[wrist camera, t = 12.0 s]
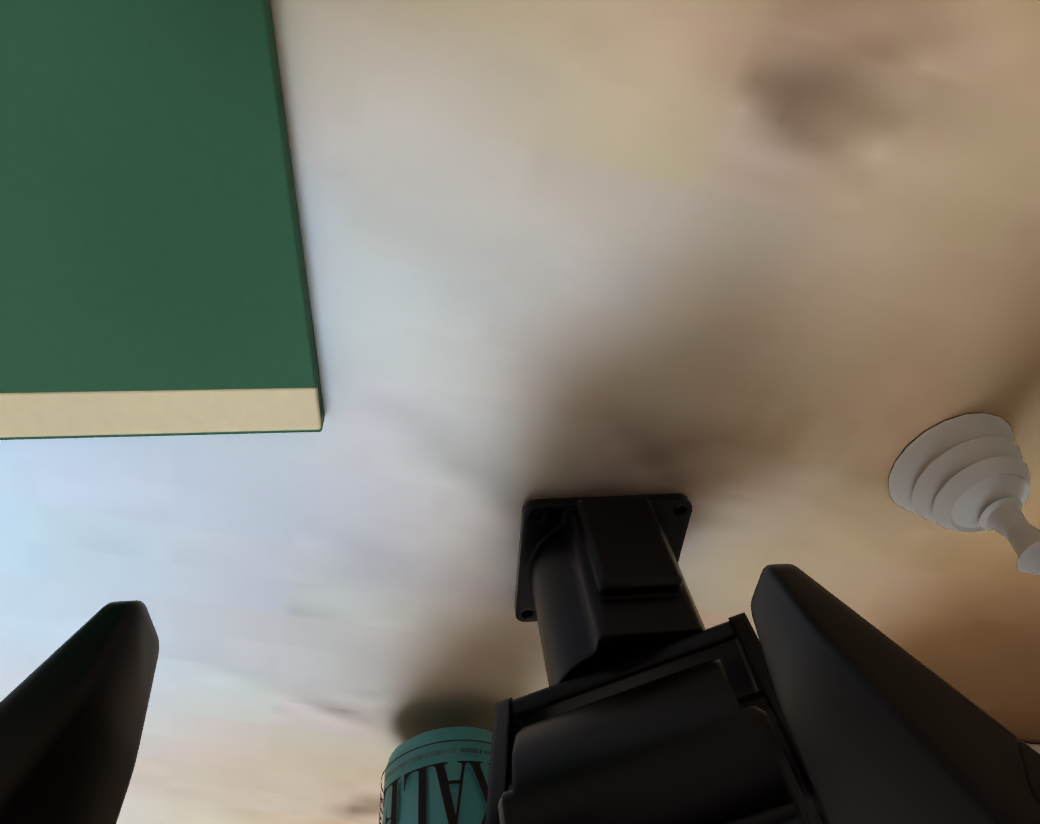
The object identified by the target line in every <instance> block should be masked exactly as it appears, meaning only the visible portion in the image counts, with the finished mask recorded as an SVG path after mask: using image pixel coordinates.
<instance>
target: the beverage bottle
mask: <svg viewBox="0 0 1040 824" xmlns="http://www.w3.org/2000/svg"><path fill="white" fill-rule="evenodd" d="M491 743H492V731H489V730H485V729H481V728H476V727H446V728H439V729H434V730H430V731H427V732H424V733H421V734H418V735H416V736H414V737H412V738H410V739H408V740H406V741H405V742H403V743H402V744H401V745H399V746H398V747H397V748H396V749H395V750H394V752H393V753H392V755H391V756H390V759H389V762H388V765H387V767H386V769H385V771H384V772H385V783H384V792H383V793H384V802H383V799H381V798H382V796H381V795H380V796H381V798H380V799H381V800H380V804H381V802H382V804H383V812H382V810H381V808H380V810H381V812H382V814H383V821H382V819H381V816H380V813H379V816H380V817H379V823H380V824H381V822H380V819H381V821H382V824H485V820H486V807H487V794H488V781H489V768H490V755H491ZM384 772H383V774H384ZM383 774H382V776H383ZM381 779H382V778H381ZM381 788H382V783H381ZM382 791H383V789H382ZM380 792H381V791H380Z"/></svg>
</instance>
